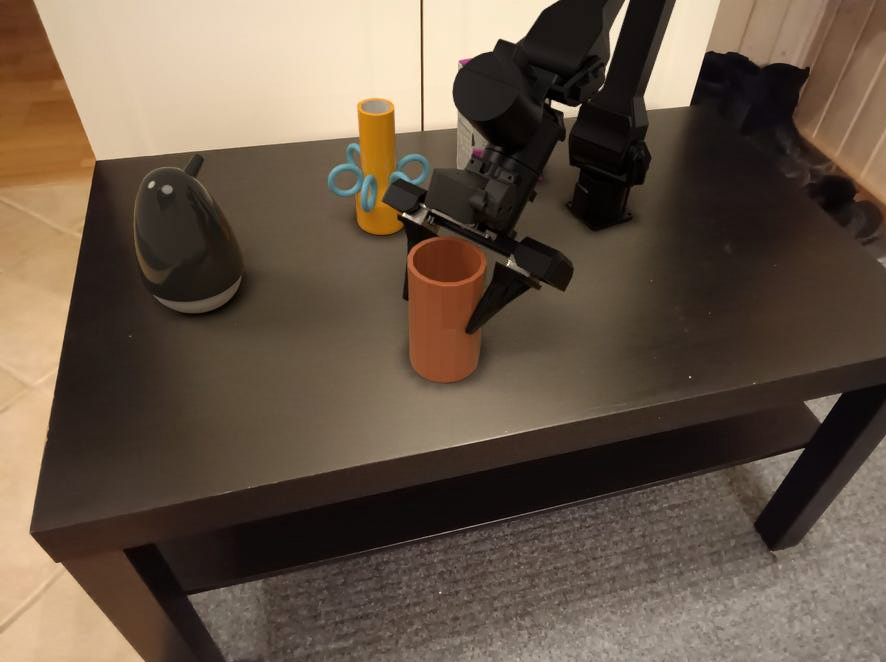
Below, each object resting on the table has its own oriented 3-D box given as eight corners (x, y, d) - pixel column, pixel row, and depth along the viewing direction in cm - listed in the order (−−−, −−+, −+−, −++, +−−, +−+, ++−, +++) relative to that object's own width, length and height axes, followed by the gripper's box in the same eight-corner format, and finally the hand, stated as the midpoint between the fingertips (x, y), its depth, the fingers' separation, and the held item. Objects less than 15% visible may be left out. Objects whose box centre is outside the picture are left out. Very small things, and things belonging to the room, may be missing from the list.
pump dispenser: (269, 278, 78) (244, 155, 67) (215, 338, 71) (177, 213, 60) (190, 255, 80) (153, 133, 69) (130, 312, 73) (78, 186, 62)
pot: (458, 325, 75) (462, 228, 66) (491, 368, 71) (500, 271, 62) (398, 346, 72) (394, 248, 63) (429, 392, 68) (429, 294, 59)
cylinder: (409, 258, 82) (407, 141, 71) (324, 243, 83) (309, 126, 72) (435, 201, 90) (436, 89, 79) (357, 188, 91) (348, 75, 80)
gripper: (390, 94, 60) (313, 258, 62) (578, 170, 53) (487, 352, 55) (444, 142, 70) (377, 282, 72) (607, 211, 64) (529, 364, 65)
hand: (436, 316), depth 66 cm, fingers closed on pot, 7 cm apart
